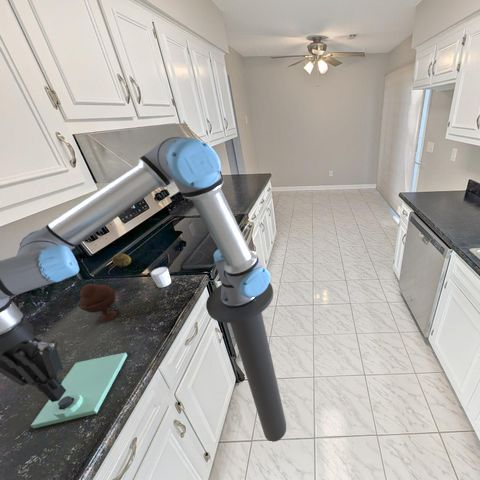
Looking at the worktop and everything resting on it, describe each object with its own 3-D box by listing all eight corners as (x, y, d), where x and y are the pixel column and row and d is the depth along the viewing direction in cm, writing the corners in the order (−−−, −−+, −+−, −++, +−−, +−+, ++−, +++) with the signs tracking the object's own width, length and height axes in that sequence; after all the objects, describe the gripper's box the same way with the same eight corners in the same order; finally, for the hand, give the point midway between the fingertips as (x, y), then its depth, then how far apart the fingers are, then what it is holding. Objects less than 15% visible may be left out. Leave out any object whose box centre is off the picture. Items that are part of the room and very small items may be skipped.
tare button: (75, 398, 66) (72, 394, 66) (69, 407, 64) (66, 404, 63) (65, 400, 66) (61, 397, 65) (58, 410, 64) (55, 406, 63)
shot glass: (152, 287, 113) (146, 274, 110) (164, 278, 119) (159, 265, 115) (163, 289, 111) (158, 276, 108) (176, 280, 117) (171, 267, 113)
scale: (127, 355, 81) (123, 348, 79) (96, 413, 65) (91, 406, 64) (78, 365, 78) (73, 359, 77) (33, 428, 63) (26, 422, 61)
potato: (136, 257, 138) (130, 245, 134) (131, 269, 127) (125, 256, 124) (119, 261, 135) (112, 248, 132) (112, 274, 125) (104, 260, 121)
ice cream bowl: (89, 332, 91) (67, 299, 84) (93, 314, 99) (73, 283, 92) (124, 319, 96) (106, 287, 89) (125, 303, 104) (109, 273, 97)
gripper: (-59, 349, 48) (16, 418, 59) (21, 334, 50) (79, 404, 61) (-22, 321, 55) (40, 388, 66) (48, 309, 57) (96, 376, 68)
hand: (59, 396), depth 63 cm, fingers closed
